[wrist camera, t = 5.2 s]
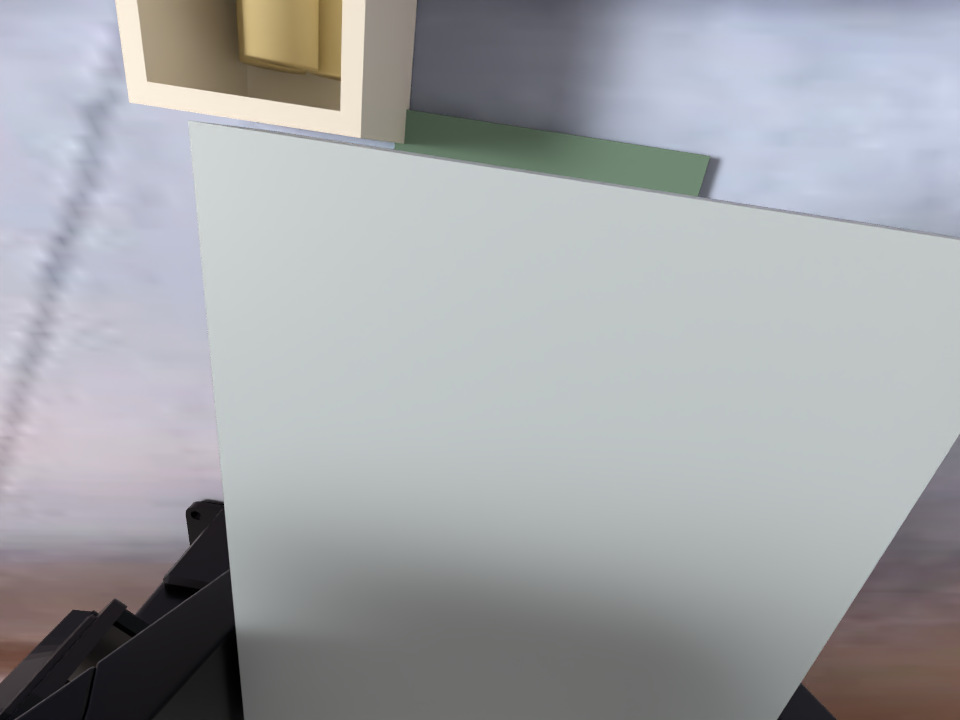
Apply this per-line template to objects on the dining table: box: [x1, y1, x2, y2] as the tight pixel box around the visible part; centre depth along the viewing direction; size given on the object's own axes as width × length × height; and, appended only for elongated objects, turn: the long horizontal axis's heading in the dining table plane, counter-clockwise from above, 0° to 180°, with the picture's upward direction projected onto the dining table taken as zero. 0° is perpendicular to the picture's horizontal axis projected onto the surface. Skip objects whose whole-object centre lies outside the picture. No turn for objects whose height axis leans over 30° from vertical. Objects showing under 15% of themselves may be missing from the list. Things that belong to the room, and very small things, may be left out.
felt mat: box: [395, 110, 710, 197], centre depth 18 cm, size 16×10×1 cm, turn 172°
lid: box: [188, 121, 960, 720], centre depth 7 cm, size 14×7×2 cm, turn 172°
